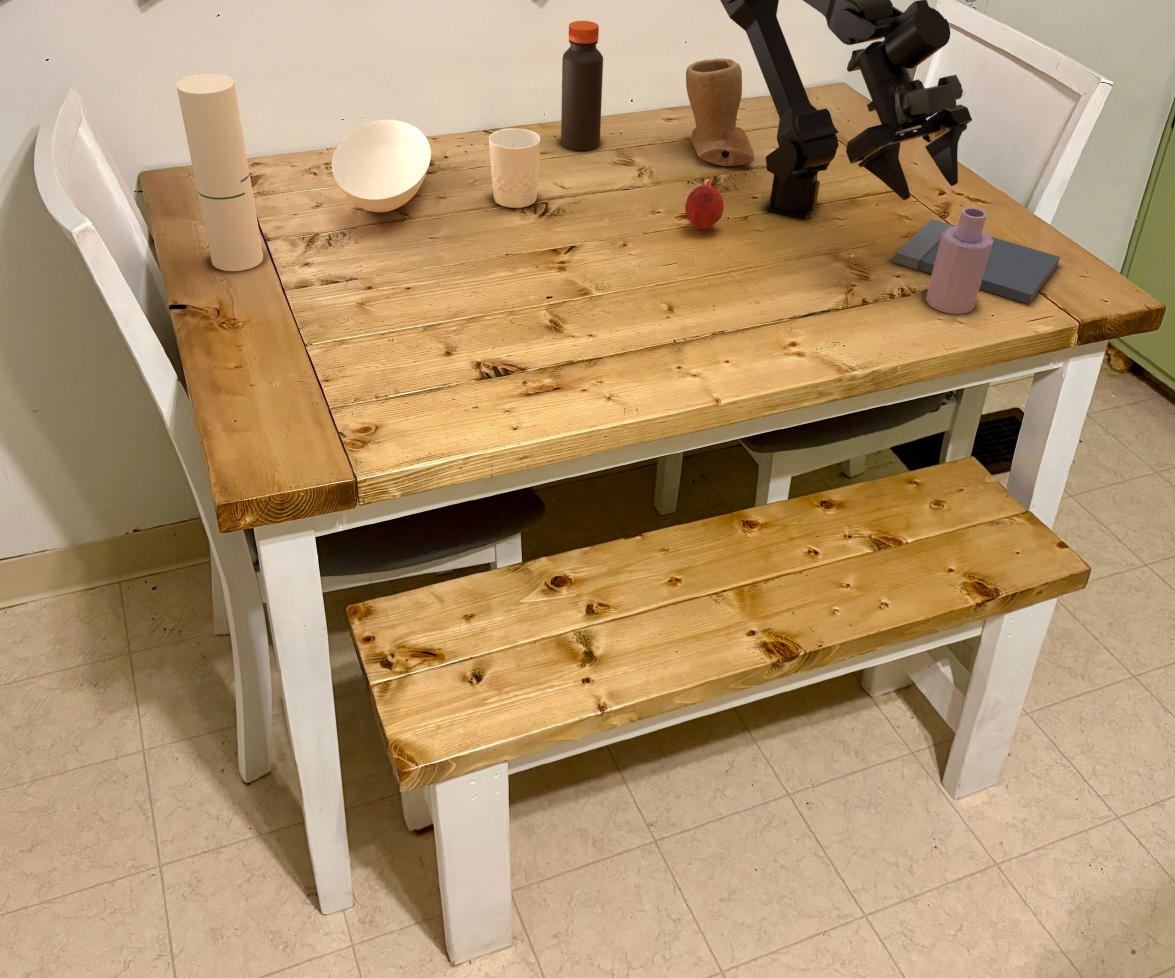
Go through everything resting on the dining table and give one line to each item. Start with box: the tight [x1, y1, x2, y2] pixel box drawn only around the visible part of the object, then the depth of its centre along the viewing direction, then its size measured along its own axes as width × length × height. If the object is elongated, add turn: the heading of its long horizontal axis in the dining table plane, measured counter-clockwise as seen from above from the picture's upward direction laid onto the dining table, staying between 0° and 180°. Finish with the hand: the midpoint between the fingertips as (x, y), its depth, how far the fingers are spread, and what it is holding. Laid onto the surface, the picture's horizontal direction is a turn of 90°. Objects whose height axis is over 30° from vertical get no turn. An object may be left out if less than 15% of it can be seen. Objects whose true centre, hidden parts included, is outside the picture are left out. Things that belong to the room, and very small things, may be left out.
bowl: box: [331, 119, 432, 213], centre depth 176 cm, size 30×15×6 cm, turn 4°
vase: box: [925, 206, 993, 315], centre depth 153 cm, size 7×7×14 cm
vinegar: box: [560, 20, 604, 152], centre depth 189 cm, size 7×7×20 cm
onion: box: [684, 178, 725, 231], centre depth 169 cm, size 6×6×8 cm
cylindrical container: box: [175, 73, 264, 272], centre depth 152 cm, size 7×7×25 cm
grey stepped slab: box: [894, 218, 1061, 305], centre depth 166 cm, size 20×14×2 cm
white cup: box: [488, 127, 542, 209], centre depth 175 cm, size 8×8×10 cm
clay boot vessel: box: [685, 58, 756, 167], centre depth 190 cm, size 15×12×15 cm
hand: (931, 191), depth 154 cm, fingers open, 9 cm apart
